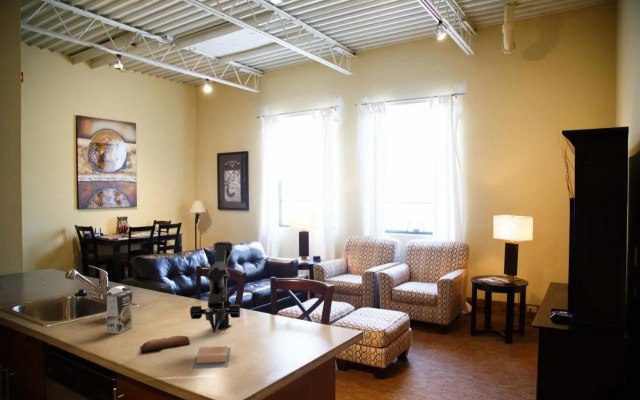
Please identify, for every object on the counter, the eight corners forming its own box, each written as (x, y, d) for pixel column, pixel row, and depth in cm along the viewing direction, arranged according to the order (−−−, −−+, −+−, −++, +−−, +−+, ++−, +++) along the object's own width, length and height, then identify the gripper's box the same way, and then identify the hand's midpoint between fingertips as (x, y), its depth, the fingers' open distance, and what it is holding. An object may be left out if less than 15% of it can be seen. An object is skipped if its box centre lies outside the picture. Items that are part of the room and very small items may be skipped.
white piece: (99, 318, 203) (99, 287, 203) (117, 312, 214) (117, 283, 214) (119, 321, 199) (119, 289, 199) (136, 315, 210) (137, 285, 210)
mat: (199, 350, 163) (199, 348, 163) (230, 349, 165) (230, 347, 165) (192, 370, 144) (192, 368, 144) (227, 368, 146) (227, 367, 146)
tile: (200, 347, 158) (196, 356, 149) (227, 345, 159) (225, 354, 150) (199, 354, 158) (196, 363, 149) (227, 353, 159) (225, 362, 150)
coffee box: (119, 334, 181) (119, 296, 181) (105, 333, 182) (106, 295, 182) (132, 327, 190) (132, 292, 190) (119, 326, 191) (120, 291, 191)
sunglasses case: (184, 339, 175) (186, 327, 172) (188, 352, 170) (190, 341, 167) (138, 347, 166) (139, 334, 163) (140, 361, 161) (141, 349, 158)
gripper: (190, 285, 162) (186, 322, 151) (240, 284, 165) (238, 321, 154) (193, 300, 170) (189, 337, 159) (240, 299, 173) (239, 335, 162)
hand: (214, 332), depth 159 cm, fingers closed
